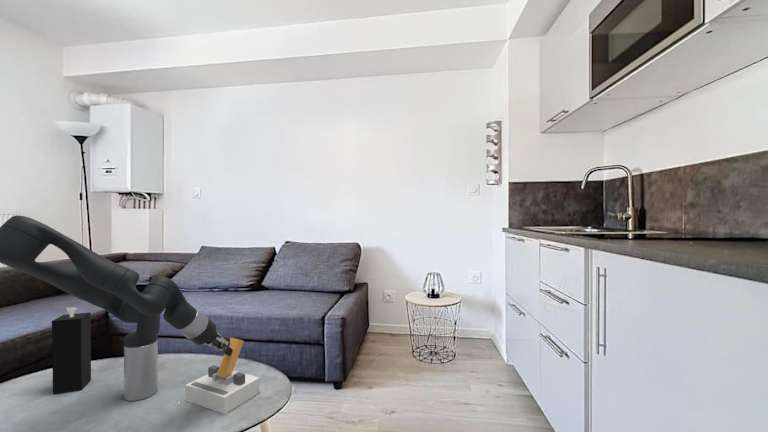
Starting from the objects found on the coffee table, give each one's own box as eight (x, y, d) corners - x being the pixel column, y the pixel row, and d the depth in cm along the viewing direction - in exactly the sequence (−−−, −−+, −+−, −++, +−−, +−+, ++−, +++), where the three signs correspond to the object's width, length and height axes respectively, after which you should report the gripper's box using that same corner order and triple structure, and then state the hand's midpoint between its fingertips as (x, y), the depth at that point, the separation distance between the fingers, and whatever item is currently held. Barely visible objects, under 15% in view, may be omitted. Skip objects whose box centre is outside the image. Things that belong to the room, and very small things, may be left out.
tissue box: (81, 390, 118) (80, 308, 118) (52, 395, 115) (51, 311, 115) (91, 380, 125) (90, 303, 125) (63, 384, 122) (63, 305, 122)
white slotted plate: (185, 400, 111) (185, 375, 111) (222, 381, 124) (222, 359, 124) (224, 414, 104) (224, 387, 103) (259, 392, 116) (259, 368, 116)
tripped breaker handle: (215, 378, 113) (230, 337, 119) (220, 378, 115) (235, 338, 121) (223, 380, 111) (239, 339, 117) (229, 381, 113) (243, 340, 119)
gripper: (173, 334, 105) (209, 360, 116) (202, 341, 99) (237, 367, 110) (190, 313, 110) (223, 339, 121) (218, 317, 104) (250, 345, 115)
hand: (230, 352), depth 116 cm, fingers closed
